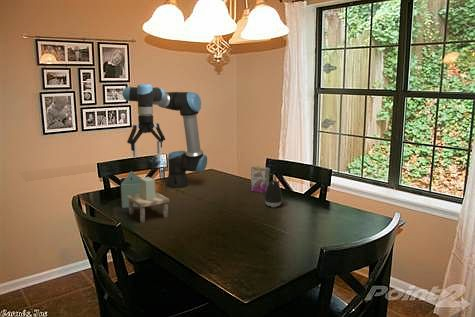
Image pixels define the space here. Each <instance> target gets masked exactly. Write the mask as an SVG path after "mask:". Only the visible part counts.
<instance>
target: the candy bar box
mask: <svg viewBox="0 0 475 317" xmlns="http://www.w3.org/2000/svg"><path fill="white" fill-rule="evenodd" d="M250 171H251V172H250V191H251V192H253V191H257V192H256V193H258V192H263V193H262V194H264V193H266V189H267V187H268V184H269V183H270V167H264V166H259V165H253V166H251V169H250Z"/></svg>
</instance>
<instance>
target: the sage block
mask: <svg viewBox="0 0 475 317" xmlns="http://www.w3.org/2000/svg"><path fill="white" fill-rule="evenodd" d="M155 192H156V179H154V178H151V177H150V176H145V177H140V196H141V197H142V198H144V199H146V200H150V199H155Z"/></svg>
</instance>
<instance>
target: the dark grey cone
mask: <svg viewBox="0 0 475 317" xmlns="http://www.w3.org/2000/svg"><path fill="white" fill-rule="evenodd" d="M280 182H281V180H270V181H269V184H268V187H267V189H266V193H265V194H264V202H265V205H266V206H268V207H269V206H271V207H270V208H277V206H278V207H279V206H280V205H281V204H282V201H283V194H282V189H281V185H280Z"/></svg>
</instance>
